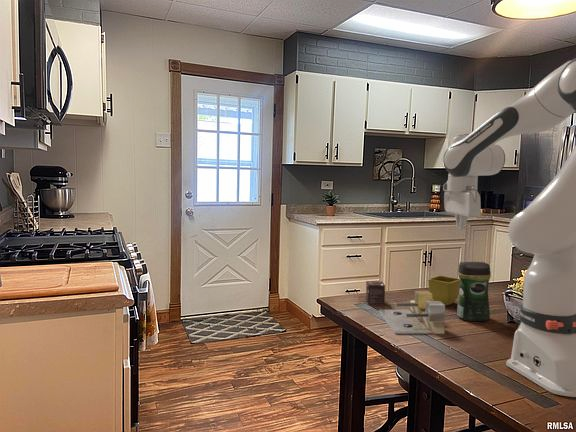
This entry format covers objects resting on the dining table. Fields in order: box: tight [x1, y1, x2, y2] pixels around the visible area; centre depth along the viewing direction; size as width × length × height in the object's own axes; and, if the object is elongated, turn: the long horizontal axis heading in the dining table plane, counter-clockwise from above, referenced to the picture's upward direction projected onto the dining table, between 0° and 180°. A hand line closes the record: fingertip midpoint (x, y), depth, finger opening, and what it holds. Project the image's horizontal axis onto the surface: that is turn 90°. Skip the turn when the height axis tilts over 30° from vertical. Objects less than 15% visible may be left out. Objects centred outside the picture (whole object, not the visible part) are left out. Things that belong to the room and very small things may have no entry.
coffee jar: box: [456, 261, 492, 322], centre depth 140 cm, size 10×8×19 cm
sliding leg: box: [396, 290, 433, 309], centre depth 141 cm, size 4×11×5 cm, turn 91°
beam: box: [406, 299, 446, 335], centre depth 138 cm, size 24×11×8 cm, turn 1°
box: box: [365, 280, 386, 306], centre depth 158 cm, size 6×6×7 cm
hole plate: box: [379, 309, 430, 335], centre depth 136 cm, size 20×10×1 cm, turn 1°
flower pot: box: [427, 275, 460, 306], centre depth 157 cm, size 9×9×9 cm
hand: (460, 228), depth 140 cm, fingers closed
